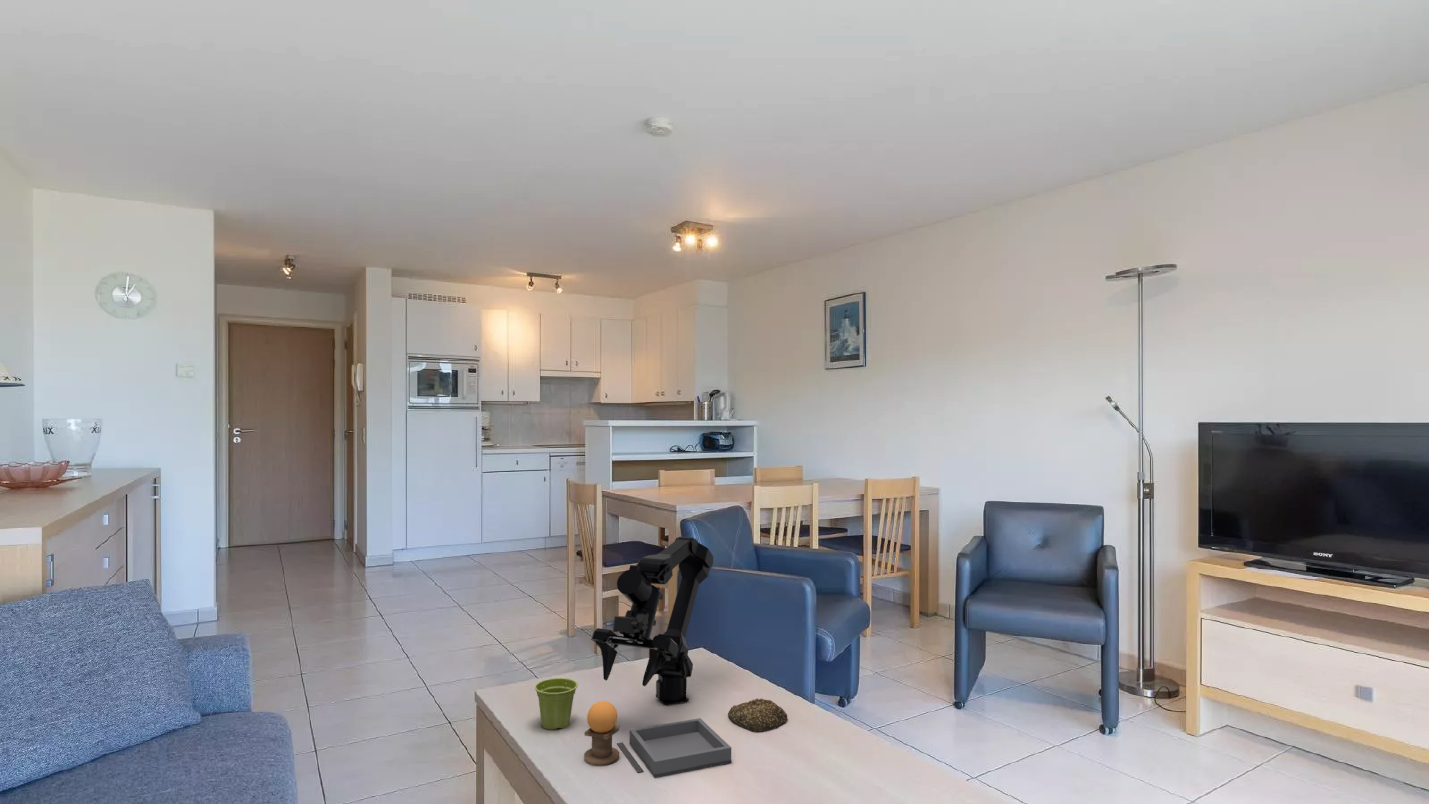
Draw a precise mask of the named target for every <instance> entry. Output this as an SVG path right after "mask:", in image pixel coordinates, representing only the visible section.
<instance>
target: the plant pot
mask: <svg viewBox="0 0 1429 804" xmlns="http://www.w3.org/2000/svg"><path fill="white" fill-rule="evenodd" d="M578 686H579V683H578V682H577V681H576V680H574V679H572V678H565V677H554V678H548V679H542V680H540V681H539V682H537V683H536V684H534V690H535V691H536V696H537V697H538V706H539V713H540V724H541V726H542V728H543V729H547V730H556V729H558V728H559V729H563V728H566V727H568V726H569V725H570V723H571V717H572V716H571V715H572V710H573V709H572V708H573V702H574V698H575V697H574V695H575V694H576V690H577V688H578Z"/></svg>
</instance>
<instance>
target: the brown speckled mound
mask: <svg viewBox="0 0 1429 804" xmlns="http://www.w3.org/2000/svg"><path fill="white" fill-rule="evenodd" d="M727 717H728V718H729V719H730V721H731V722H733V723H734V724H735V725H738V727H742V728H744V729H746V728H747V730H748V729H749V730H748V731H750V730H751V732H753V731H755V732H754V733H757V732H760V731H762V732H767V730H769V731H770V729H772V730H774V729H778V728H780V726H782V725H784V724H785V722H786V723H787V720H788V714H787V713H786V711H785V710H784V708H783V707H781V706H779V705H778V704H777V703H776V702H774V701H773V700H771V699H763V698H755V699H752V700H749V701H747V702H741V703H739V704H737V705H735V704H734V705H732V707H730V709H729V710H728V713H727ZM783 723H784V724H783ZM781 724H782V725H781ZM777 727H778V728H777ZM773 728H774V729H773Z"/></svg>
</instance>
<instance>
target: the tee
mask: <svg viewBox="0 0 1429 804" xmlns="http://www.w3.org/2000/svg"><path fill="white" fill-rule="evenodd" d="M618 731H620V726H619V725H615V726H614V727H613V728H612V729H611V730H610V731H609V732H606V733H597V732H594V731H593V730H592V729H591V728H590V727H589V728H588V729H587V730H586V731H584V736H585V737H589V738H590V737H591V748H589V749H587V750H586V751H585V752H584V755H583V760H584V762H585V763H586V764H587V765H590V766H595V767H601V766H602V767H603V766H604V767H605V766H610V765H613V764H615V763H617V762H618V761H619V759H620V751H619V749H618V748H616V747H613V735H615V734H616V733H617V732H618Z"/></svg>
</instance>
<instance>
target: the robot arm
mask: <svg viewBox="0 0 1429 804" xmlns="http://www.w3.org/2000/svg"><path fill="white" fill-rule="evenodd" d="M713 565H714V555H713V554H712V552H711V550H710V549H709V547H707V546H705V545H703V544H702V543H700V542H699V541H698V539H696V538H694V537H693V536H692V537H691V536H679V537H676V538H675V540H674V541H673V542H672V543H670V544H669V545H668V546H667V547H665V548H664V549H663V550H661V551H660V552H659V553H656V554H650V555H646V556H643V557H641V558H640V559H639V561H638V563H636V564H635V565H634V564H630V565H629V569H627V570H625V571H623V572H622V574H620V576H618V578H617V582H616V588H617V590H618V591H619V593H621V594H622V595H623V596H624V597H625V598H626V599H627V600H628V601H629V602H630V603H631V606H630V610H629V609H628V610H627V611H626V613H625V615H618V616H617V615H615V616H614V619H613V626H612V629H607V628H598V627H597V628H596V629H595V630H594V631H593V632H592V635H591V641H592V642H593V643H595V646H597V648H599V650H600V652H601V657H602V673H603V675H602V676H603V680H605V682H607V681H608V680H609V677H610V675H611V672H612V670H613V666H614V663H615V661H616V657H617V655H618V651H617V650H616V648H618V646H625V647H633V648H639V649H646V650H647V649H648V661H647V664H646V667H645V671H644V673H643V678H642V686H643V687H646V686H647V685H648V684H649V682H650V681H651V680H652V678H653V677H654V676H655V675H657V678H658V679H657V680H656V681H655V699H657V700H658V701H659V702H660V703H661V704H662V705H663V706H669V705H676V704H683V703H689V702H690V698H689V697H687V688H688V687H687V681H688V680H687V678H691V676H692V673H693V670H694V669H693V667H694V666H693V665H694V663H693V662H692V660H691V658H690V657H689V654H688V653H689V647H688V644H687V642H686V641H687V640H686V635H687V631H688V627H689V624H690V621H691V620H690V619H691V617H692V613H693V609H694V606H695V602H696V599H697V594H698V590H699V587H700V584H702V583H703V581H705V580H706V578H708V577H709V574H710V571H711V568H712V567H713ZM677 566H678V569H679V572H680V577H681V578H680V581H679V586H678V589H677V591H676V592H677V593H676V595H675V600H674V604H673V606H672V611H671V614H670V618H669V621H668V624H667V628H666V631H664V633H662V634H661V633H658V634H657V635H654V636H653V638H651V634H652V630H653V626H654V627H656V625H657V620H656V613H657V610H658V606H659V603H660V601H661V600H663V599H664V597H663V596H664V595H663V593H662V592H661V588H660V587H657V586H655V585H656V584H657V585H667V583H668V582H669V581H670V580H671V578H672V577H673V576H674V575H673V574H674V573H673V570H674V568H676V567H677ZM653 584H655V585H653ZM617 633H619V634H620V635H618V634H617Z"/></svg>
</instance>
